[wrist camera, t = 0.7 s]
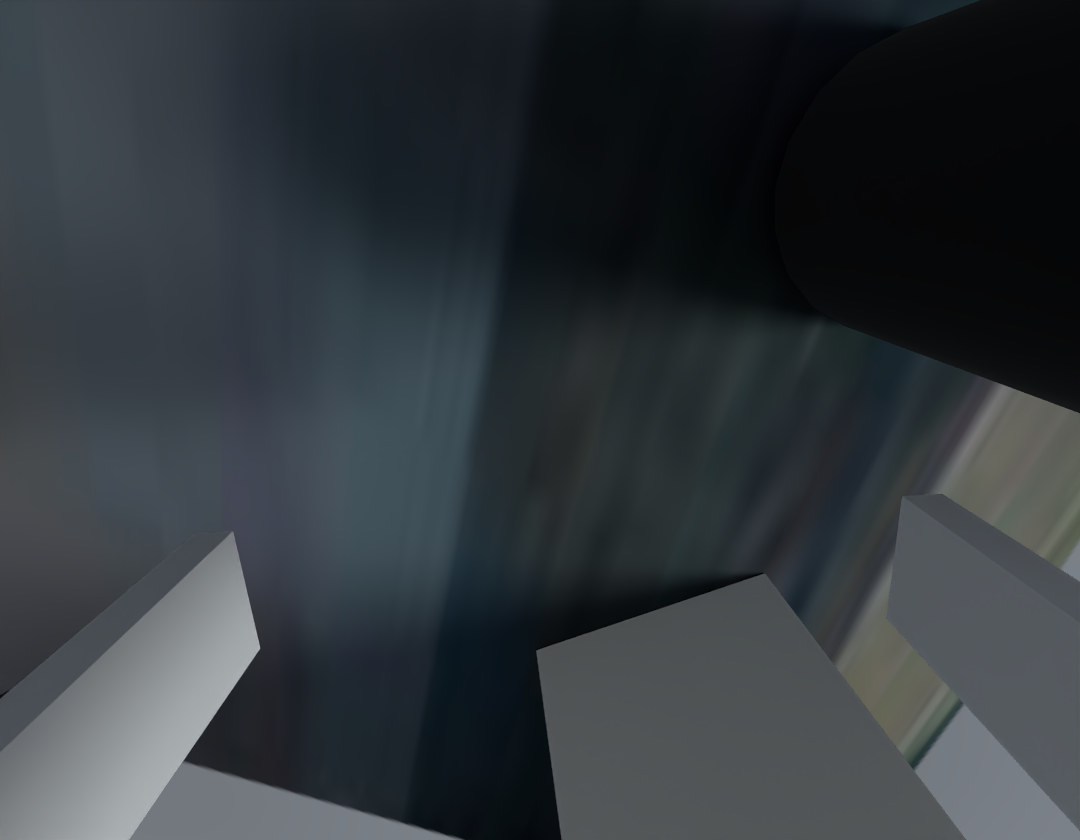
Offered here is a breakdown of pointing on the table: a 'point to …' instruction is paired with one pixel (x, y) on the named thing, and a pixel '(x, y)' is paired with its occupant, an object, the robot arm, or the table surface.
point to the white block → (721, 732)
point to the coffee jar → (949, 194)
